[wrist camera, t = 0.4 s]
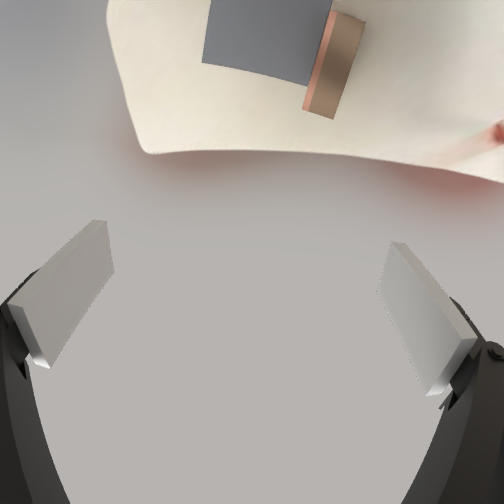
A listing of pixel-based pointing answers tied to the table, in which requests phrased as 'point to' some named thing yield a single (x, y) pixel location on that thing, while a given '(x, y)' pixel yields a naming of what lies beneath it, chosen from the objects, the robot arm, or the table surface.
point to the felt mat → (266, 36)
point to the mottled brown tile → (333, 64)
